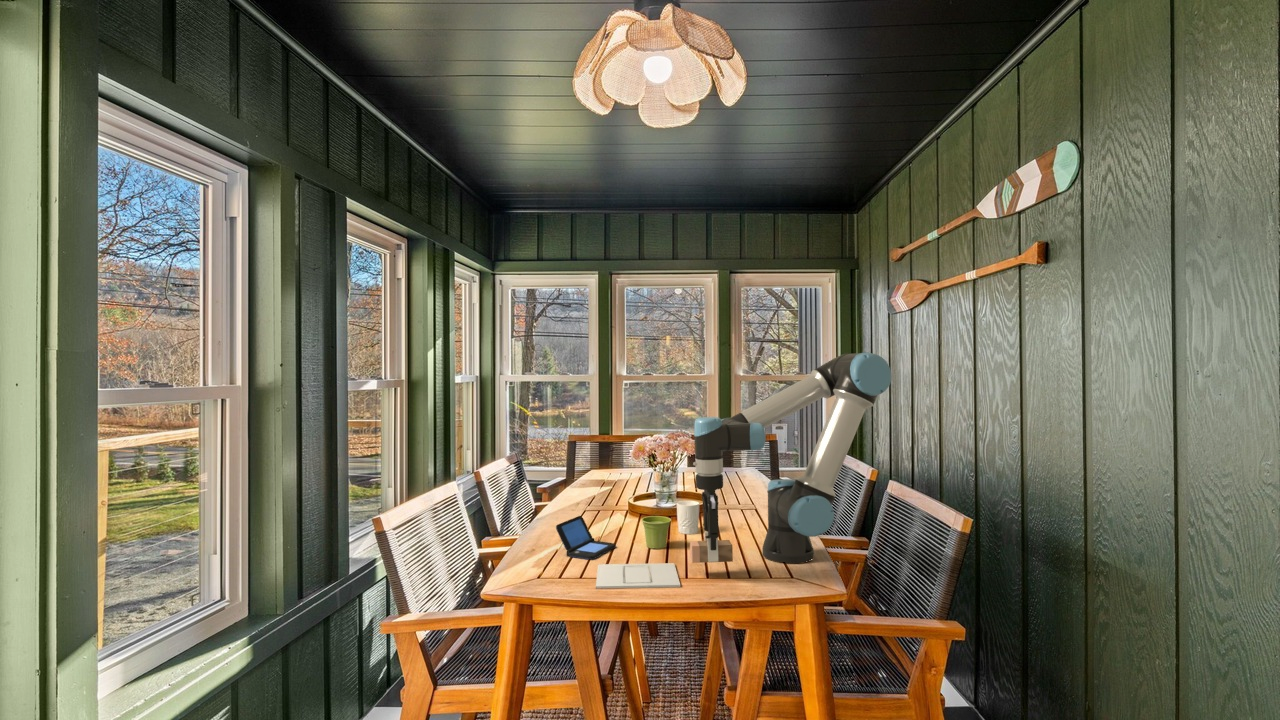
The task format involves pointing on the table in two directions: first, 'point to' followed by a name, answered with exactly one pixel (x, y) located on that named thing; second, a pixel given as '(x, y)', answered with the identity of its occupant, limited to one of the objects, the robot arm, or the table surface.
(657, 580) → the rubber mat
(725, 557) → the walnut block
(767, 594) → the table surface
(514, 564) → the table surface
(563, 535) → the handheld game console
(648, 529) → the plant pot
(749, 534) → the table surface
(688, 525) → the white cup
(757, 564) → the table surface
